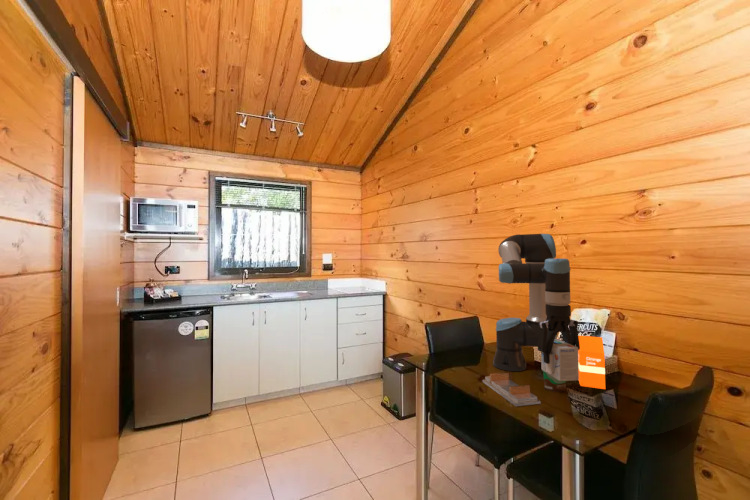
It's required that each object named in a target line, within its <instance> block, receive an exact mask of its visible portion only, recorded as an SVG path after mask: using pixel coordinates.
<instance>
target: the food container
mask: <svg viewBox="0 0 750 500" xmlns="http://www.w3.org/2000/svg"><path fill="white" fill-rule="evenodd" d="M542 372H543V373H542V374H543V382H544V383H543V384H544V390H546V391H550V392H555V393H561V392H562V391H563V392H565V391H566V390H567V381H559V380H557V379H556V378H554V377H553V376H551V375H549V374H548V373H546V372H544V371H543V370H542Z"/></svg>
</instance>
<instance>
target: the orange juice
mask: <svg viewBox="0 0 750 500" xmlns="http://www.w3.org/2000/svg"><path fill="white" fill-rule="evenodd" d="M578 337H579V344H580V349H579V350H578V370H579V380H578V382H579V383H578V384H579V385H580V387H585V388H593V389H594V388H595V389H601V390H606V366H605V365H606V361H605V349H604V341H603V337H601V336H600V337H599V336H588V335H578Z"/></svg>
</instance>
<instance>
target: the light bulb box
mask: <svg viewBox="0 0 750 500" xmlns="http://www.w3.org/2000/svg"><path fill="white" fill-rule="evenodd" d="M540 353H541V356H540V357H541V360H540V362H541V371H542V372H543V371H544V372H546V368H545V362H544V355H543V352H541V351H540ZM550 354H553V374H550V373H548V372H546V373H548V374H549V375H551V376H553V377H554V378H556V379H557V380H559V381H566V382H569V381H579V370H578V347H576V346H573V345H571V344H568V343H566V342H564V340H561V339H558V338H557V339H554V343H553V346H552V349H551V353H550Z"/></svg>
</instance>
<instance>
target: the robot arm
mask: <svg viewBox="0 0 750 500" xmlns="http://www.w3.org/2000/svg"><path fill="white" fill-rule="evenodd" d="M556 247H557V246H556V242H555V240H554V237H553V236H552V234H549V233H530V234H529V233H527V234H526V233H524V234H514V235H510V236H508V237H507V238H505V239H504V240H502V241H501V242H500V244H499V246H498V250H497V251H498V255H499V257H500V258H501V261H502V263H500V264H498V280H499V283H501V284H510V285H511V284H528V298H529V299H528V303H529V304H528V305H529V306H528V307H529V314H528V316H526V318H525V321H522V319H521V318H520V317H505V318H500V319H499V320H497V321H496V323H495V331H496V339H495V341H496V344H495V345H496V350H495V352H494V353H495V354H494V356H493V360H492V365H493V367H495V368H497V369H499V370H503V371H507V372H521V371H525V370H527V363H526V358H525V356H524V354H523V347H530V348H531V347H534V348H537V350H538V352H540V353H541V352H543V355H544V362H545V368H546V372H548V373H550V374H553V354H550V353H551V349H552V346H553V343H554V339H558V333H560V335H561V336H562V338H563V342H566V343H568V344H571V345H573V346H576V347H578V350H579V349H580V344H579V337H578V336H579V330H578V327H579V321H578V320H575V319H571V316H572V310H571V308H572V307H571V305H570V304H571V267H570V260H569V259H568V258H557V248H556ZM522 259H524V262H523V260H522Z"/></svg>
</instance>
